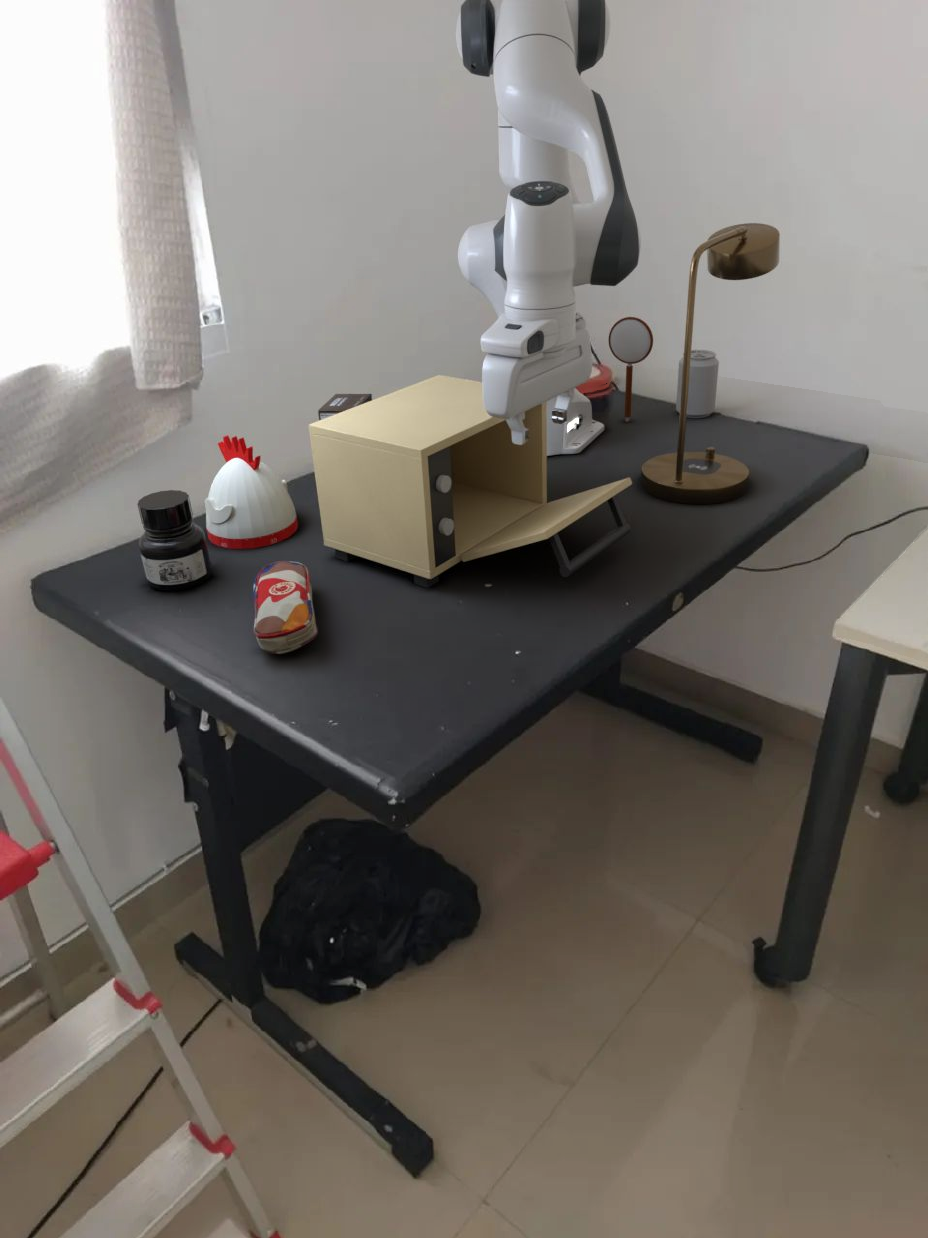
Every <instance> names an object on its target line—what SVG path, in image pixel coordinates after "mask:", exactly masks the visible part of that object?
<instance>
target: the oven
mask: <svg viewBox="0 0 928 1238" xmlns="http://www.w3.org/2000/svg"><path fill="white" fill-rule="evenodd" d="M522 421H523V424H524V427H525V428H526V429H529V441H528V442H526V443H524V444H522V445H518V444H514V443H513V442H512V430H511V429H510V427H509V426H508V424H507V422H506V420H505V419H502V418H497V417H493V416H490V415H489V414H488V413H487V412H486V410H485V408H484V404H483V390H482V381H479V380H473V379H472V380H471V379H466V378H461V377H460V378H459V377H453V376H448V375H443V374H437V375H435V376H433V377H430V378H427V379H425V380H422V381H419V382H416V383H414V384H411V385H408V386H406V387H403V388H400V389H398V390H395V391H392V392H390V393H388V394H385V395H383V396H379V397H378V398H375V399H372V401H369V402H367V403H364V404H361V405H359V406H356V407H354V408H351V409H348V410H346V411H343V412H341V413H338V414H335V415H333V416H330V417H327V418H325V419H322V420H320V421H319V420H317V421H315V422H312V423H310V424H308V432H309V439H310V448H311V456H312V464H313V471H314V477H315V485H316V492H317V494H316V495H317V500H318V509H319V516H320V523H321V530H322V537H323V538H322V539H323V545H324V546H325V547H329V548H331V549H334V550H335V558H336V559H340V560H341V561H345V562H350V561H352V560H353V559H355V558H357V557H360V558H362V559H366V560H369V561H372V562H375V563H378V564H380V565H381V564H382V565H384V566H388V567H391V568H394V569H396V570H400V571H403V572H407V573H409V574H412V575H413V583H414V584H415V585H418V586H421V587H424V588H427V589H428V588H430V587H431V586H433V585H436V583H438V582H439V581H440V579H439V578H440V577H439V575H440V574H442V573H443V572H445V571H447V570H448V569H450V568H452V567H454V566H455V565H457V564H458V563H460V562H463V560H462V558H461V555H462V554H464V553H465V552H467V551H469V550H470V549H472V548H474V547H475V546H477V545H479V544H480V543H482V542H484V541H485V540H487V539H489V538H490V537H492V536H494V535H495V534H497V533H499V532H500V531H502V530H504V529H505V528H507V527H509V526H510V525H512V524H514V523H515V522H517V521H519V520H520V519H522V518H524V517H525V516H527V515H529V514H530V513H532V512H534V511H535V510H537V509H539V508H540V507H542V506H544V505H545V504H547V503H548V475H547V474H548V473H547V472H548V465H547V464H548V463H547V462H548V461H547V460H548V456H547V416H546V402H544V403H542V404H540V405H538V406H536V407H534V408H531V409H529V410H527V411H525V419H523V420H522Z"/></svg>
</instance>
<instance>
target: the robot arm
mask: <svg viewBox="0 0 928 1238" xmlns="http://www.w3.org/2000/svg"><path fill="white" fill-rule="evenodd" d="M610 33H611V15H610V11H609V7H608V4H607V2H606V0H464V1H463V3H462V4H461V5H460V11H459V14H458V17H457V20H456V26H455V42H456V47H457V51H458V54H459V56H460V59H461V60H462V65H463V67H464V68H465V69H466V70H467V71H468V73H470V74H471V75H475V76H479V77H485V78H489V77H490V76H491V75H493V87H494V95H495V101H496V105H497V134H498V135H497V136H498V137H497V139H498V140H497V141H498V144H497V145H498V173H499V177H500V179H501V181H502V183H503V185H504V186H505V187H506V188H507V189H508V190H509V192H508V194H507V198H506V205H505V213H504V215H503V216H502V217H500V219H494V220H489V221H486V222H482V223H478V224H474V225H471V226H469V227H468V228H466V230H465V232H464V233H463V235H462V237H461V239H460V241H459V243H458V249H457V262H458V266H459V269H460V272H461V274H462V276H463V277H464V279H465V281H467V282H468V283H469V284H470V286H472V287H474V289H476V290H478V292H480V293H481V294H482V295H483V296H484V297H485V298H486V299H487V301H488V302H489V303H490V305H491V306H492V308H493V310H494V311H495V314H496V316H497V318H498V319H496V320H495V322H494V323H493V324H492V325H491V326H490V327H489V328H488V329H486V330H485V332H483V334H481V337H480V349H481V352H483V353H487V354H486V355H485V357H484V359H483V362H482V367H481V382H482V390H483V404H484V408H485V410H486V412H487V413H488V414H489V415H490V416H493V417H497V418H502V419H505V420H506V422H507V424H508V426H509V427H510V429H511V430H512V442H513V443H514V444H518V445H522V444H524V443H526V442H528V441H529V429H526V428H525V427H524V424H523V421H522V420H523V419H525V411H527V410H529V409H531V408H534V407H536V406H538V405H540V404H542V403H544V402H546V416H547V457H548V456H549V457H550V456H556V455H575V454H579V453H581V452H582V451H583V450H584V449H586V448H587V446H589V445H590V444H591V443H592V442H593V441H594V440H595V439H596V438H597V437H599V436H600V435H601V434H602V433H603V432H604V431H605V424H604V423H602V422H600V421H597V420H595V419H593V409H592V402H591V400H590V399H589V398H588V397H587V396H585V394H582V393H580V392H579V391H580V390H578V389H576V388H577V387H579V386H581V385H584V384H585V383H587V382H589V380H590V378H591V375H592V371H593V365H592V364H593V361H592V360H593V359H592V346H591V345H592V344H591V337H590V333H589V330H588V329H586V328H587V327H586V322H587V321H586V319H585V318H584V317H583V316H582V315H581V313H579V311H578V312H577V297H576V292H575V287H579V286H584V285H591V286H601V287H602V286H603V287H604V286H605V287H616V286H618V285H619V284H620V283H621V282H622V281H625V279H626V278H627V277H629V276H630V275H631V274H632V272H634V271H635V270H636V268H637V267H638V264H639V259H640V254H641V244H642V242H641V240H642V239H641V232H640V228H639V224H638V221H637V218H636V213H635V210H634V208H633V205H632V202H631V199H630V196H629V193H628V190H627V185H626V180H625V177H624V172H623V168H622V164H621V159H620V155H619V152H618V146H617V143H616V138H615V135H614V134H615V133H614V131H613V127H612V124H611V120H610V116H609V113H608V110H607V106H606V104H605V102H604V100H603V97H602V96H601V94H600V93H598V92H597V91H595V90H594V89H591V88H590V87H589V86H588V85H587V84H586V83H585V81H584V80H583V78H582V77H581V75H582V73H583V72H586V71H588V70H589V69H591V68H593V67H595V66H596V64H597V63H599V61H600V60H601V59H602V58H603V57H604V52H605V50H606V48H607V45H608V42H609V39H610ZM569 151H570V152H572V153H573V154H575V155H577V156H578V157H579V158H580V159H581V160H582V161H583V163H584V166H585V168H586V173H587V177H588V182H589V185H590V190H591V194H592V200H593V201H592V202H589V203H582V202H581V201H580V199H579V197H578V195H577V193H576V191H575V189H574V186H573V181H572V178H571V171H570V161H569Z"/></svg>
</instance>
